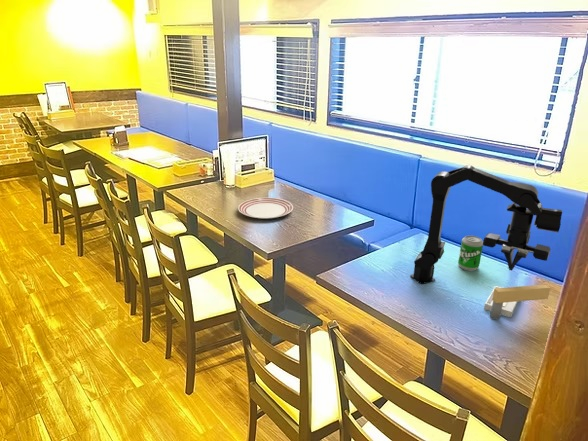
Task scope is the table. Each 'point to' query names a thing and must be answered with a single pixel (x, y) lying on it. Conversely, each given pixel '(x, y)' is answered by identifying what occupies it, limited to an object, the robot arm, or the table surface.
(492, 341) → the table surface
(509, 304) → the white flat block
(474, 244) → the soda can
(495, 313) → the bar
